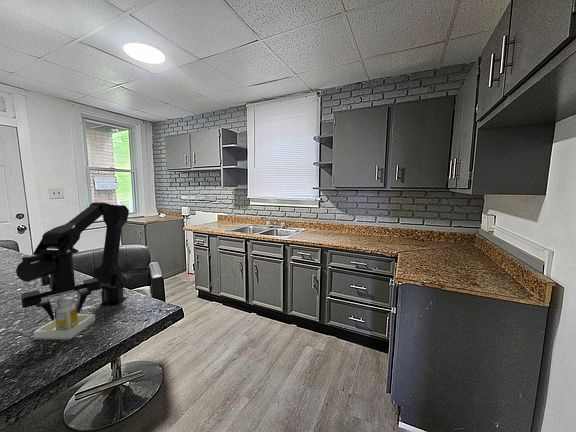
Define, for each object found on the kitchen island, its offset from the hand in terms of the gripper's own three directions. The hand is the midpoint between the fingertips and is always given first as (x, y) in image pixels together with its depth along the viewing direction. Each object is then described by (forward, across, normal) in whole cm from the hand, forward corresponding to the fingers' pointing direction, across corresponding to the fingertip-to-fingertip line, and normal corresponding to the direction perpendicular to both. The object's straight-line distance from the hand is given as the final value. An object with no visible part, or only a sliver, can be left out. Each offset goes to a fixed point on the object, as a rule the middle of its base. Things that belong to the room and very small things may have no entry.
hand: (65, 316), depth 81 cm
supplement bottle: (+4, 0, 0) cm, 4 cm away
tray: (+4, 0, 0) cm, 5 cm away
